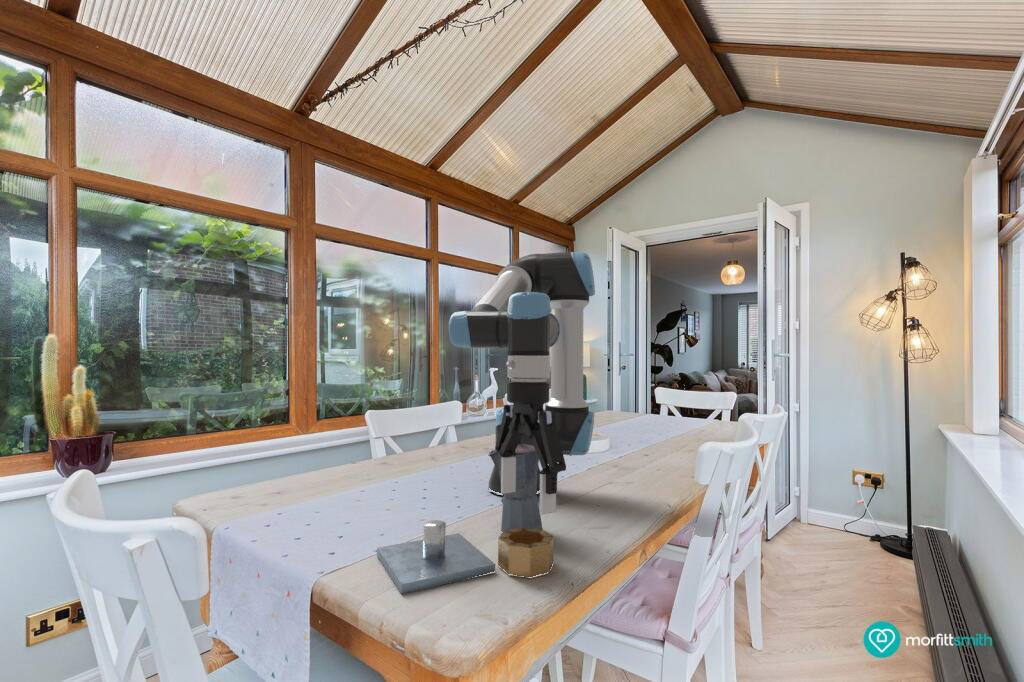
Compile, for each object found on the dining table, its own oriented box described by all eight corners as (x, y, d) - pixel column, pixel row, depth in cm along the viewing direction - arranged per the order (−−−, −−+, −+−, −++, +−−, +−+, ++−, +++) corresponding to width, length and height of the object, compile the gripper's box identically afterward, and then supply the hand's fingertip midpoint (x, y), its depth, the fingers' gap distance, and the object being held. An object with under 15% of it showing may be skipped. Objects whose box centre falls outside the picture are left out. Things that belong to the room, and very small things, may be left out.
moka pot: (480, 527, 103) (482, 433, 104) (546, 520, 109) (547, 430, 109) (495, 544, 94) (496, 440, 95) (566, 534, 100) (567, 437, 101)
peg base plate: (458, 541, 96) (459, 505, 96) (495, 573, 82) (495, 531, 82) (377, 555, 88) (377, 517, 88) (401, 594, 74) (402, 547, 74)
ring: (534, 552, 91) (534, 525, 91) (562, 571, 83) (562, 541, 83) (491, 561, 86) (491, 533, 87) (516, 582, 78) (516, 551, 79)
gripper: (479, 377, 95) (477, 487, 94) (548, 384, 73) (547, 527, 72) (512, 377, 98) (511, 483, 98) (588, 383, 77) (587, 519, 76)
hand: (526, 502), depth 85 cm, fingers open, 13 cm apart
